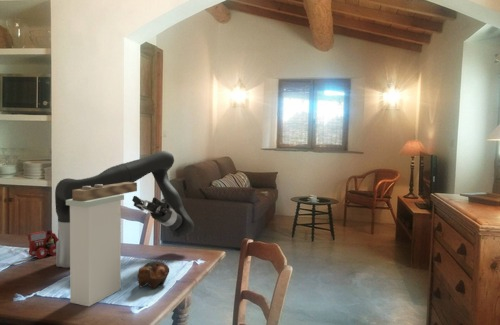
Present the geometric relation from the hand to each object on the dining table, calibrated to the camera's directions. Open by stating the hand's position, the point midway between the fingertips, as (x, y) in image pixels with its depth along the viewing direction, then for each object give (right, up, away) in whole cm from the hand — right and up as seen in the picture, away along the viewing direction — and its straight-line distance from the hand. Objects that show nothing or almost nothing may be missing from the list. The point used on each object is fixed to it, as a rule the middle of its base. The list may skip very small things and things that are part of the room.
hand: (143, 199), depth 141 cm
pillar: (-9, -28, -21) cm, 36 cm away
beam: (-6, +3, -18) cm, 20 cm away
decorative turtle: (+7, -28, -11) cm, 31 cm away
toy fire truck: (-46, -25, +18) cm, 56 cm away
